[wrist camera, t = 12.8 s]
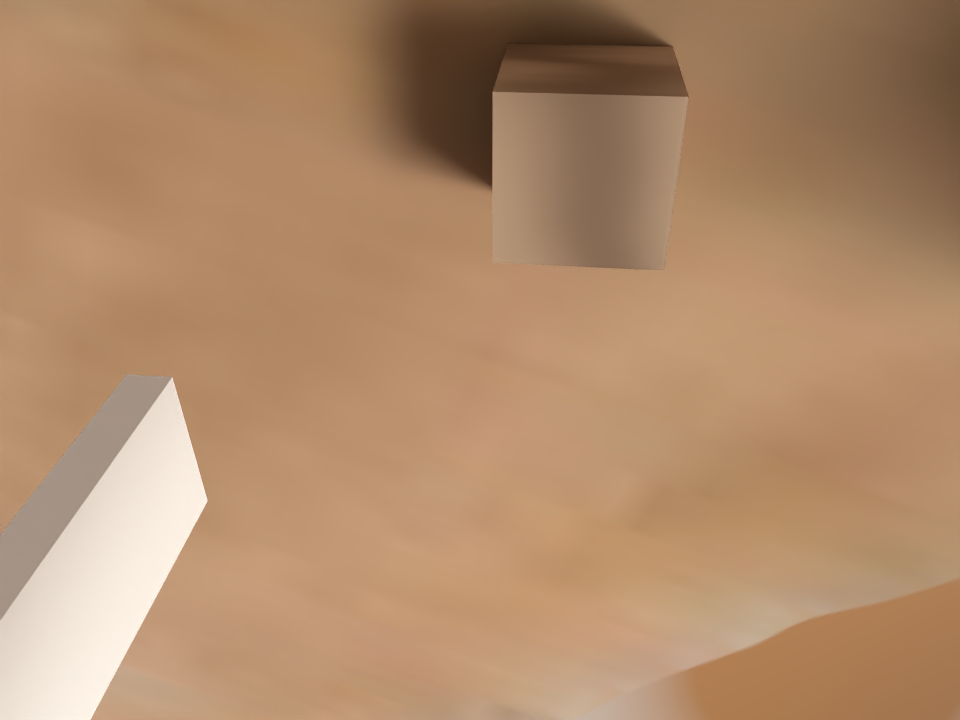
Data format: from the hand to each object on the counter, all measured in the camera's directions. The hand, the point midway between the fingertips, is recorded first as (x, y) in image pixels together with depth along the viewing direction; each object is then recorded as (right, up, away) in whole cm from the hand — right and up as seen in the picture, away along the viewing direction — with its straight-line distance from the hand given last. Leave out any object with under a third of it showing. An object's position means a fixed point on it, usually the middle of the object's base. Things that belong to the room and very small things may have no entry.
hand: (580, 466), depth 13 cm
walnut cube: (+2, +9, +13) cm, 17 cm away
